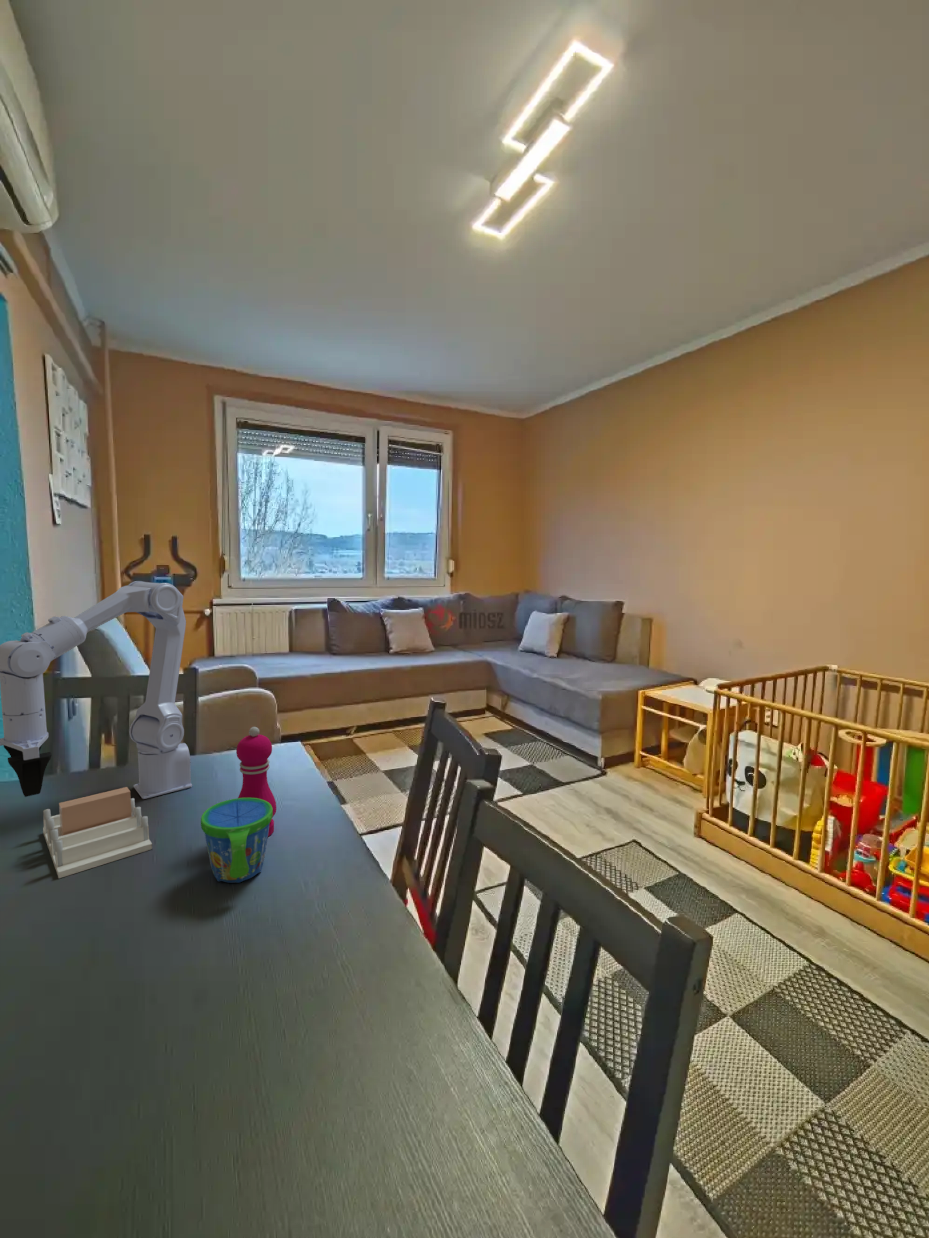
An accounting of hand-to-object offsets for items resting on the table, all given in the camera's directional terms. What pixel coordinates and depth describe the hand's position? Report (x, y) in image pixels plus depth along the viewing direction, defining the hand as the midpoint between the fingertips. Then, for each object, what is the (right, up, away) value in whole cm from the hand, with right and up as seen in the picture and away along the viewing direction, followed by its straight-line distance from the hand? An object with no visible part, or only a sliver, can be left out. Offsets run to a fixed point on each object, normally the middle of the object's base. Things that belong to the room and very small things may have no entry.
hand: (29, 787), depth 95 cm
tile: (+11, -9, +1) cm, 14 cm away
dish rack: (+11, -10, +1) cm, 15 cm away
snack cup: (+39, -12, -7) cm, 41 cm away
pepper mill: (+37, -10, +5) cm, 39 cm away
